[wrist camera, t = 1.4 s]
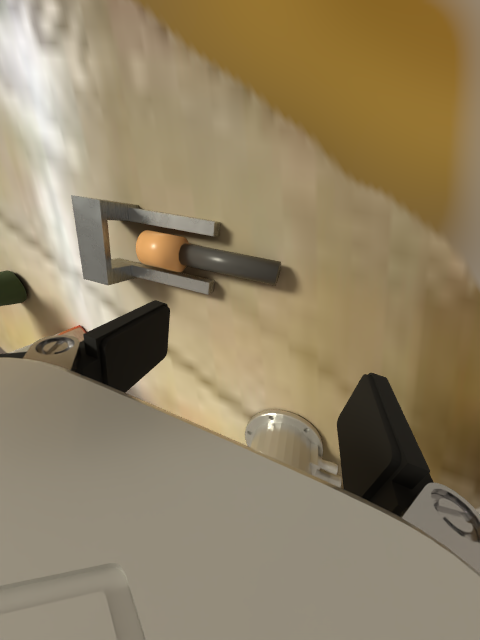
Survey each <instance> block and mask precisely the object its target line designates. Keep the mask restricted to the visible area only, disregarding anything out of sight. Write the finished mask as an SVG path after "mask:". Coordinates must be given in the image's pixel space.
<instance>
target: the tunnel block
mask: <svg viewBox="0 0 480 640" xmlns="http://www.w3.org/2000/svg"><path fill="white" fill-rule="evenodd" d="M71 197H72V204H73V210H74V217H75V224H76V231H77V237H78V244H79V251H80V257H81V264H82V271H83V278H84V279H86V280H90V281H94V282H98V283H102V284H105V285H111V284H115V283H119V282H122V281H126V280H130V279H134V278H137V277H139V278H143V279H147V280H151V281H155V282H159V283H163V284H167V285H171V286H175V287H179V288H184V289H188V290H192V291H196V292H200V293H204V294H210V293H211V292H213V291H214V281H215V280H211V279H207V278H203V277H198V276H194V275H190V274H185V273H181V272H176V271H171V270H167V269H163V268H158V267H154V266H150V265H145V264H142V263H137V262H133V261H129V260H124V259H120V258H117V259H111V255H110V244H109V233H108V223H107V220H121V221H133V222H138V223H144V224H149V225H155V226H160V227H166V228H171V229H176V230H182V231H187V232H193V233H198V234H204V235H209V236H219V231H220V222H215V221H209V220H203V219H197V218H191V217H185V216H179V215H173V214H167V213H162V212H156V211H150V210H144V209H139V205H133V204H127V203H121V202H115V201H108V200H101V199H94V198H87V197H80V196H73V195H71Z"/></svg>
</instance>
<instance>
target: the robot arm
mask: <svg viewBox="0 0 480 640" xmlns="http://www.w3.org/2000/svg"><path fill="white" fill-rule="evenodd" d="M169 318H170V308H168V306H167V304H165V303H162V302H159V301H156V300H155V301H152V302H150V303H148V304H146V305H144V306H142V307H140V308H137V309H135V310H133V311H131V312H129V313H127V314H125V315H123V316H120V317H118V318H116V319H114V320H112V321H110V322H108V323H106V324H104V325H101V326H99V327H97V328H95V329H93V330H91V331H89V332H87V333H85V334H83V337H84V340H83V341H81V342H79V340H78V339H77V338H76V337H74V336H69V335H54V336H49V337H45V338H43V339H40V340H38V341H36V342H35V343H33V344H32V345H31V346H30V348H29V349H28V351H27V352H18V353H7V354H0V640H480V514H479V513H478V512H477V511H476V510H475V508H474V507H473V506H471V505H470V504H469V503H468V502H467V501H466V500H465V499H464V498H463V497H461V496H460V495H459V494H457V493H456V492H455V491H453V490H451V489H450V488H448V487H446V486H444V485H441V484H438V483H433V480H432V478H431V476H430V474H429V472H430V470H429V468H428V465H427V463H426V461H425V459H424V457H423V455H422V453H421V450H420V448H419V446H418V444H417V442H416V440H415V438H414V435H413V433H412V431H411V429H410V427H409V425H408V422H407V420H406V418H405V416H404V414H403V412H402V410H401V407H400V405H399V403H398V401H397V399H396V397H395V395H394V392H393V390H392V388H391V386H390V384H389V382H388V380H387V378H386V377H383V376H380V375H377V374H374V373H369V374H368V375H366V374H364V375H363V376H362V378H361V380H360V381H359V383H358V385H357V386H356V388H355V390H354V392H353V393H352V395H351V397H350V399H349V400H348V402H347V404H346V405H345V407H344V409H343V411H342V412H341V414H340V416H339V418H338V421H337V431H338V440H339V449H340V458H341V468H342V477H343V486H344V489H342V488H341V476H340V475H337V471H338V465H337V464H335V463H332V462H330V461H326V460H323V459H322V454H323V444H322V439H321V437H320V435H319V433H318V432H317V430H316V429H315V428H314V427H313V426H312V425H311V424H310V423H309V422H308V421H306V420H305V419H304V418H302V417H300V416H298V415H296V414H294V413H291V412H288V411H283V410H266V411H263V412H259V413H258V414H256V415H254V416H253V417H252V418H251V419H250V421H249V422H248V424H247V427H246V431H245V440H246V443H247V445H248V446H246V445H244V444H241V443H239V442H237V441H235V440H232V439H230V438H228V437H225V436H223V435H221V434H219V433H216V432H214V431H212V430H209V429H207V428H205V427H203V426H200V425H198V424H196V423H193V422H191V421H189V420H187V419H184V418H182V417H180V416H177V415H175V414H173V413H170V412H168V411H166V410H164V409H161V408H159V407H157V406H154V405H152V404H150V403H147V402H145V401H143V400H140V399H138V398H136V397H133V396H131V395H129V394H126V393H125V392H127V391H128V390H129V389H130V388H131V387H132V386H133V385H134V384H136V383H137V382H138V381H139V380H140V379H141V378H142V377H143V376H145V375H146V374H147V373H148V372H149V371H150V370H151V369H153V368H154V367H155V366H156V365H157V364H158V363H159V362H160V361H162V360H163V359H164V358H165V356H166V354H167V348H168V333H169ZM320 468H321V469H320ZM322 469H324V470H322ZM325 470H326V471H325Z"/></svg>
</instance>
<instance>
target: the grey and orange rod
mask: <svg viewBox="0 0 480 640" xmlns="http://www.w3.org/2000/svg"><path fill="white" fill-rule="evenodd" d="M136 253H137V256H138V259H139V260H140V262H141V263H143V264H145V265H150V266H154V267H158V268H163V269H167V270H171V271H176V272H182V271H183V270H184V269H185V268H186V266H189V267H194V268H198V269H203V270H207V271H212V272H216V273H221V274H225V275H230V276H234V277H239V278H244V279H248V280H253V281H257V282H262V283H266V284H271V285H276V283H277V280H278V277H279V273H280V268H281V262H279V261H274V260H269V259H263V258H258V257H253V256H248V255H243V254H238V253H233V252H228V251H223V250H218V249H212V248H207V247H202V246H197V245H192V244H189V243H188V241H187V239H186V238H185V237H181V236H176V235H170V234H165V233H160V232H155V231H149V230H146V231H143V232H142V233H141V234H140V235H139V237H138V239H137V243H136Z"/></svg>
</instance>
